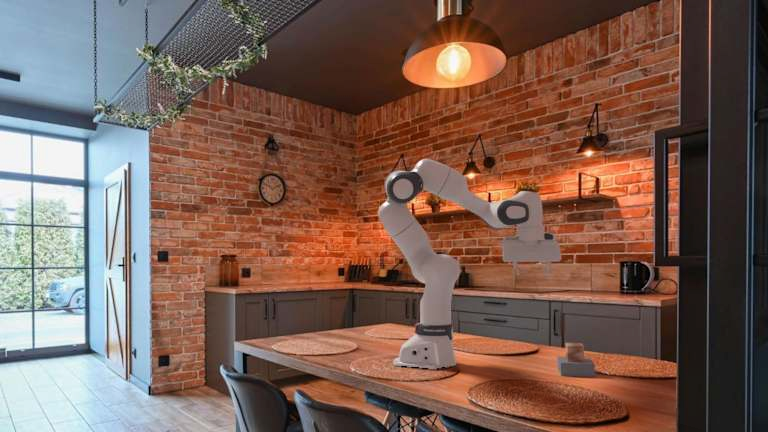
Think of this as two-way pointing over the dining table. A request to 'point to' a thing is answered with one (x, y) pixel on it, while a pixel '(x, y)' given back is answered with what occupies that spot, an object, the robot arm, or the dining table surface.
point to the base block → (576, 367)
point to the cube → (575, 352)
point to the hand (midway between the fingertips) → (532, 274)
